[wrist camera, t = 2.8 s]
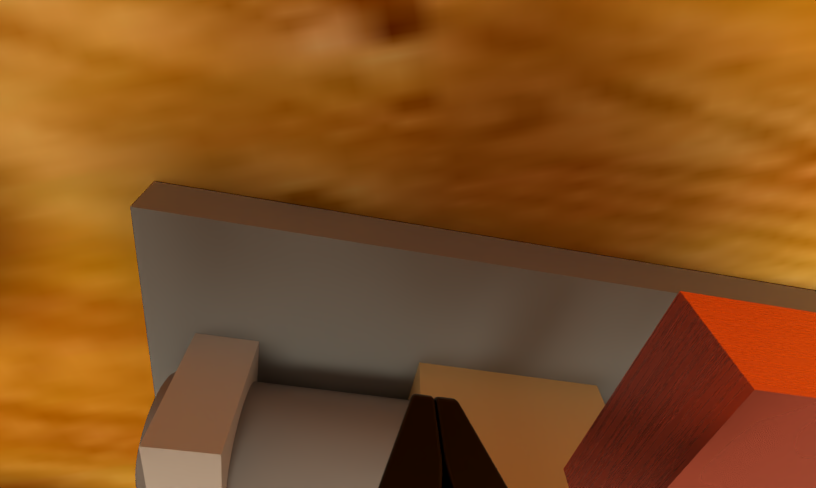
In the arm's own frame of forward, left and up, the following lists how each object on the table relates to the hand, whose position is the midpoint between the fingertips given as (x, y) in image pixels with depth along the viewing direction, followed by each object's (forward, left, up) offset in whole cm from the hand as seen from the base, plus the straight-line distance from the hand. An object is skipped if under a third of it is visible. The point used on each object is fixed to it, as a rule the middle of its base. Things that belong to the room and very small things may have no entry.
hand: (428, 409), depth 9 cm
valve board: (-7, -4, -7) cm, 11 cm away
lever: (-3, -4, 0) cm, 5 cm away
